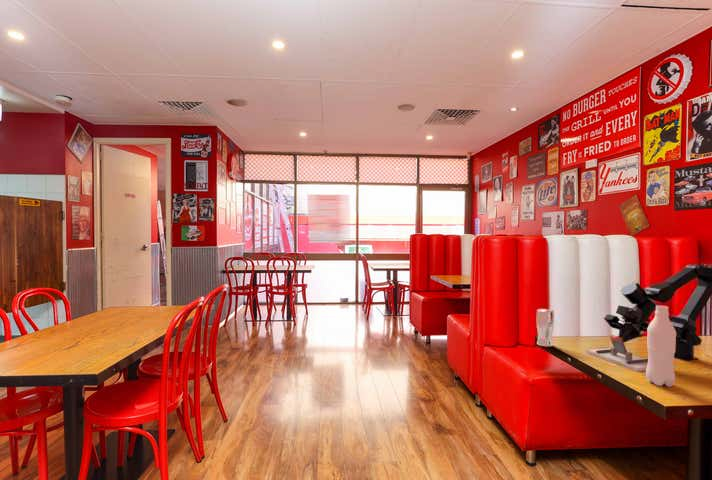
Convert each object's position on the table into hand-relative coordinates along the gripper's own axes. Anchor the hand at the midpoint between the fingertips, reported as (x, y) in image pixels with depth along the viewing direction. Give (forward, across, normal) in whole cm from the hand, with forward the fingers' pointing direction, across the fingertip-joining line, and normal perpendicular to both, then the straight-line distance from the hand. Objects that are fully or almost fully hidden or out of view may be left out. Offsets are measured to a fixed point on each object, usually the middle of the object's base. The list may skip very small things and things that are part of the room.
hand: (619, 342), depth 136 cm
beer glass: (+14, -23, -4) cm, 27 cm away
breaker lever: (+2, 0, +3) cm, 4 cm away
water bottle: (+10, +20, -1) cm, 23 cm away
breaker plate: (+4, 0, +6) cm, 7 cm away
